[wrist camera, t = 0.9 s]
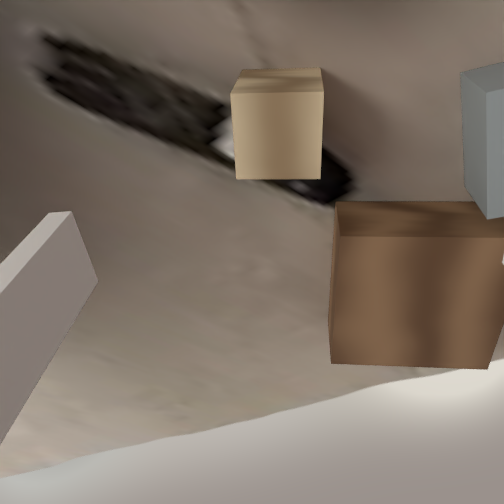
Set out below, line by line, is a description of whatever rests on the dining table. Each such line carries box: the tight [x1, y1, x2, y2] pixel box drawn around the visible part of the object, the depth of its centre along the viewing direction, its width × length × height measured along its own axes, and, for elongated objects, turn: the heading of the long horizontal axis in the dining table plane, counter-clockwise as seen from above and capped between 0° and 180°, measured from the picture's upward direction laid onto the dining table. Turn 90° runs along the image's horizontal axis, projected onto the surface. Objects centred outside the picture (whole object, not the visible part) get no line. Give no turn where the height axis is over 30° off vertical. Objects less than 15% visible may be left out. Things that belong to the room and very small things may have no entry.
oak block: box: [230, 68, 324, 179], centre depth 28 cm, size 5×5×6 cm
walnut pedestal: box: [328, 201, 504, 369], centre depth 34 cm, size 12×12×5 cm
